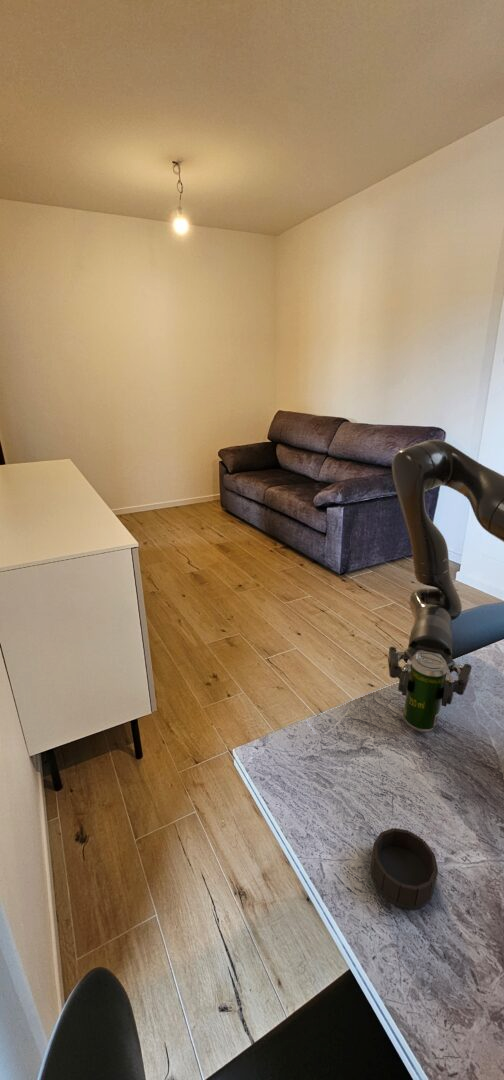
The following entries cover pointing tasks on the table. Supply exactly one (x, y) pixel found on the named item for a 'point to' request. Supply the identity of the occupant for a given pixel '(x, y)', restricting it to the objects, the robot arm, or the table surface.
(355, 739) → the table surface
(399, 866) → the coaster dock
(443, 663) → the beer can
